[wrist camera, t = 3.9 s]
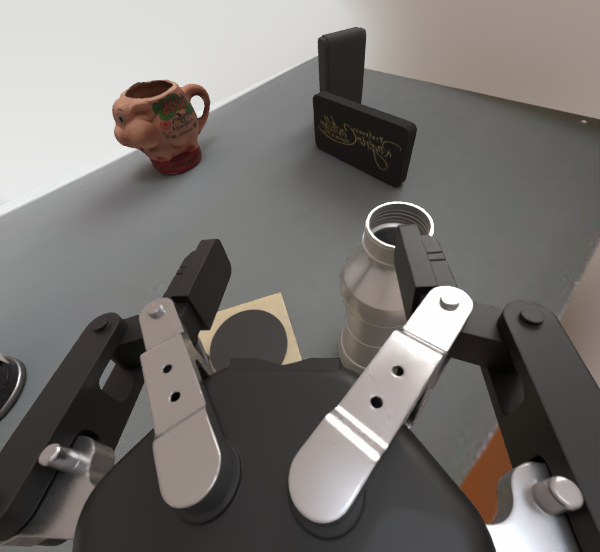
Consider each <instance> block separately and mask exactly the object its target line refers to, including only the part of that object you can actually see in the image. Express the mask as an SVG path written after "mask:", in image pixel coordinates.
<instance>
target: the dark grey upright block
mask: <svg viewBox="0 0 600 552" xmlns="http://www.w3.org/2000/svg"><path fill="white" fill-rule="evenodd" d="M365 46H366V31H365V29H363V28H358V27H354V28H350V29H346V30H342V31H338V32H334V33H330V34H326V35H322V37H320V38H318V59H319V81H320V92H322V91H325V92H328V93H331V94H334V95H336V96H339V97H342V98H345V99H348V100H351V101H353V102H356V103H359V104H361V100H362V89H363V76H364V61H365Z"/></svg>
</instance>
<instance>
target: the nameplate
mask: <svg viewBox="0 0 600 552" xmlns="http://www.w3.org/2000/svg"><path fill="white" fill-rule="evenodd" d="M313 109H314V126H315V142H316V145H317V147H318V148H319V149H321V150H323V151H325V152H327V153H329V154H331V155H333V156H335V157H337V158H339V159H340V160H342V161H344V162H346V163H348V164H350V165H352V166H354V167H356V168H358V169H360V170H362V171H364V172H366V173H368V174H370V175H372V176H373V177H375V178H377V179H379V180H381V181H383V182H385V183H387V184H389V185H391V186H393V187H396V186H398V185H399V184H401V183H402V182H404V181H405V180H406V176H407V172H408V167H409V163H410V159H411V154H412V150H413V145H414V141H415V137H416V132H417V128H416V125H415V124H414V123H412V122H410V121H407V120H404V119H401V118H399V117H396V116H393V115H390V114H387V113H384V112H382V111H379V110H376V109H373V108H370V107H368V106H365V105H362V104H359V103H356V102H353V101H351V100H348V99H345V98H342V97H339V96H336V95H334V94H331V93H328V92H325V91H322V92H320V93H318V94H316V95H314V97H313Z"/></svg>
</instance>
